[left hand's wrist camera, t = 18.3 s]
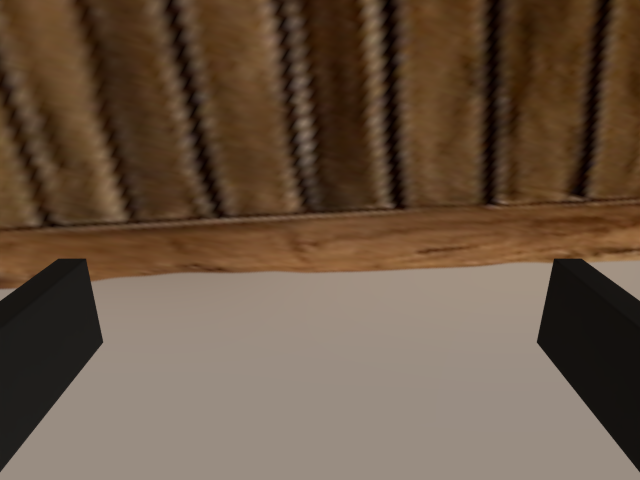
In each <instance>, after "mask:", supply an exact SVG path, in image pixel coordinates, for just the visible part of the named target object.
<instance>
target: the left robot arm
mask: <svg viewBox="0 0 640 480" xmlns="http://www.w3.org/2000/svg"><path fill="white" fill-rule="evenodd" d="M102 343H103V339H102V334H101V330H100V325H99V320H98V315H97V310H96V305H95V300H94V296H93V291H92V286H91V281H90V276H89V271H88V267H87V262H86V259H57V260H56V261H55V262H53V263H52V264H51V265H49V266H48V267H46V268H45V269H44V270H42V271H41V272H40V273H38V274H37V275H35V276H34V277H33V278H31V279H30V280H29V281H27V282H26V283H24V284H23V285H22V286H20V287H19V288H17V289H16V290H15V291H13V292H12V293H11V294H9V295H8V296H7V297H5V298H4V299H2V300H1V301H0V472H1V470H2V469H3V468H4V467H5V465H6V464H7V463H8V462H9V460H10V459H11V458H12V457H13V455H14V454H15V453H16V452H17V450H18V449H19V448H20V447H21V445H22V444H23V443H24V441H25V440H26V439H27V438H28V436H29V435H30V434H31V433H32V431H33V430H34V429H35V428H36V426H37V425H38V424H39V423H40V421H41V420H42V419H43V418H44V416H45V415H46V414H47V413H48V411H49V410H50V409H51V407H52V406H53V405H54V404H55V402H56V401H57V400H58V399H59V397H60V396H61V395H62V394H63V392H64V391H65V390H66V388H67V387H68V386H69V385H70V383H71V382H72V381H73V380H74V378H75V377H76V376H77V375H78V373H79V372H80V371H81V370H82V368H83V367H84V366H85V365H86V363H87V362H88V361H89V360H90V358H91V357H92V356H93V354H94V353H95V352H96V351H97V349H98V348H99V347H100V346H101V344H102ZM537 343H538V344H539V346H540V347H541V348H542V349H543V351H544V352H545V353H546V355H547V356H548V357H549V358H550V359H551V361H552V362H553V363H554V365H555V366H556V367H557V368H558V370H559V371H560V372H561V373H562V375H563V376H564V377H565V378H566V380H567V381H568V382H569V384H570V385H571V386H572V387H573V389H574V390H575V391H576V392H577V394H578V395H579V396H580V397H581V399H582V400H583V401H584V402H585V404H586V405H587V406H588V407H589V409H590V410H591V411H592V413H593V414H594V415H595V416H596V418H597V419H598V420H599V421H600V423H601V424H602V425H603V426H604V428H605V429H606V430H607V431H608V433H609V434H610V435H611V436H612V438H613V439H614V440H615V442H616V443H617V444H618V445H619V447H620V448H621V449H622V450H623V452H624V453H625V454H626V455H627V457H628V458H629V459H630V460H631V462H632V463H633V464H634V465H635V467H636V468H637V469H638V471H639V472H640V301H639V300H638V299H636V298H635V297H634V296H632V295H631V294H629V293H628V292H627V291H625V290H624V289H623V288H621V287H620V286H618V285H617V284H616V283H614V282H613V281H611V280H610V279H609V278H607V277H606V276H605V275H603V274H602V273H600V272H599V271H598V270H596V269H595V268H594V267H592V266H591V265H589V264H588V263H587V262H585V261H584V260H583V259H554V262H553V267H552V272H551V276H550V281H549V286H548V291H547V296H546V300H545V305H544V310H543V315H542V320H541V325H540V329H539V334H538V339H537Z"/></svg>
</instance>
